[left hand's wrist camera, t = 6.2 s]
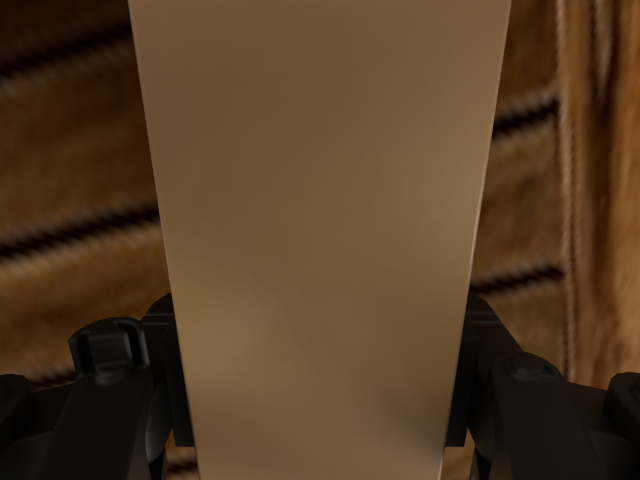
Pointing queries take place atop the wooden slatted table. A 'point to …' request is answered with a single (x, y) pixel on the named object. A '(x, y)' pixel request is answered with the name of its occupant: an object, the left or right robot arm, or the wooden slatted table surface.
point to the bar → (319, 221)
